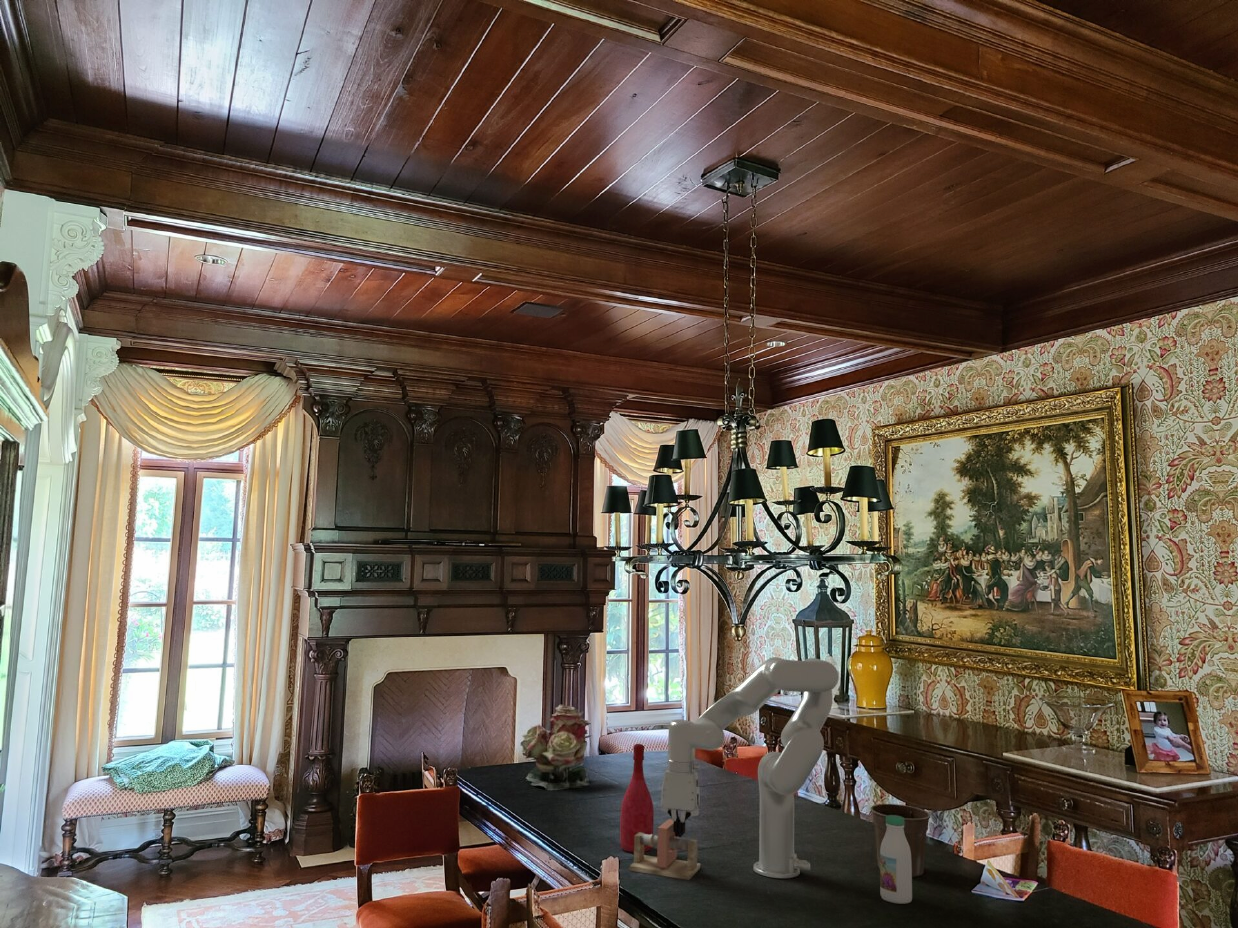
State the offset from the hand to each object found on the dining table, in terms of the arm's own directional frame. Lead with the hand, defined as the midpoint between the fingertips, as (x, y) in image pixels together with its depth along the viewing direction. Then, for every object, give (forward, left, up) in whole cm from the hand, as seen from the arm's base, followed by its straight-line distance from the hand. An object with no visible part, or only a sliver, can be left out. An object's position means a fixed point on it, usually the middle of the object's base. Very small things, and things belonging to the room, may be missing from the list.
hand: (679, 835), depth 236 cm
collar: (+3, 0, -7) cm, 8 cm away
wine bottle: (+17, -14, -10) cm, 24 cm away
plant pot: (-57, -29, -10) cm, 64 cm away
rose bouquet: (+74, -82, -10) cm, 111 cm away
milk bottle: (-57, -4, -10) cm, 58 cm away
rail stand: (+4, 0, -9) cm, 10 cm away
